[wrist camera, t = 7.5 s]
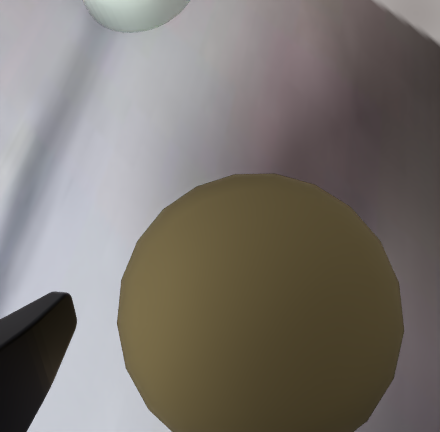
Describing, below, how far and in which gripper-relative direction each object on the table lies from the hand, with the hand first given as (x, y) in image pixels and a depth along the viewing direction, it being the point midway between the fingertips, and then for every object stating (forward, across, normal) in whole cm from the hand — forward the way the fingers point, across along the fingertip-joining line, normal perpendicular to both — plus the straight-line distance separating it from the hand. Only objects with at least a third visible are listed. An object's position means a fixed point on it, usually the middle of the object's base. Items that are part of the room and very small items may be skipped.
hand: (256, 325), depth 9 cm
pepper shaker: (+6, 0, +5) cm, 8 cm away
